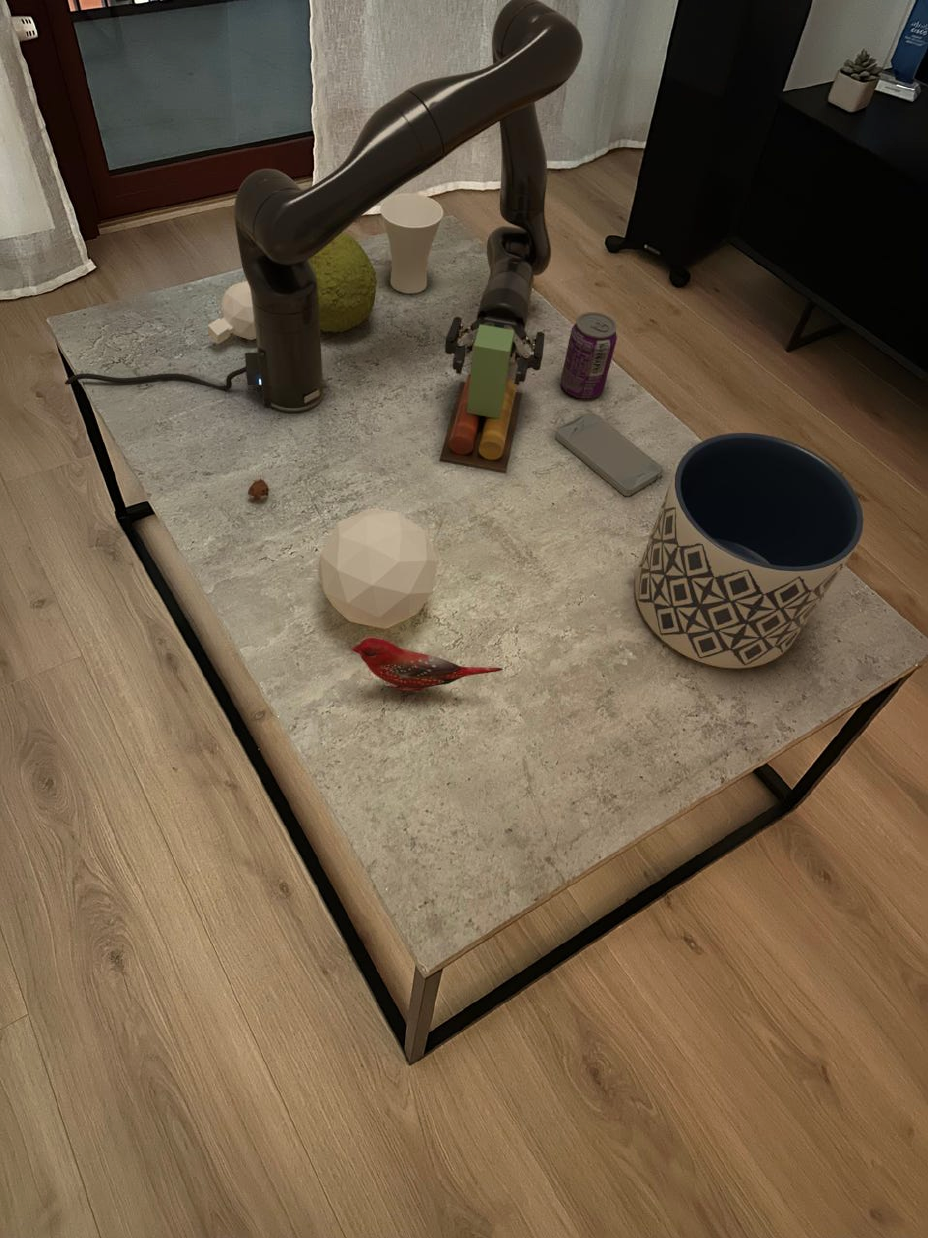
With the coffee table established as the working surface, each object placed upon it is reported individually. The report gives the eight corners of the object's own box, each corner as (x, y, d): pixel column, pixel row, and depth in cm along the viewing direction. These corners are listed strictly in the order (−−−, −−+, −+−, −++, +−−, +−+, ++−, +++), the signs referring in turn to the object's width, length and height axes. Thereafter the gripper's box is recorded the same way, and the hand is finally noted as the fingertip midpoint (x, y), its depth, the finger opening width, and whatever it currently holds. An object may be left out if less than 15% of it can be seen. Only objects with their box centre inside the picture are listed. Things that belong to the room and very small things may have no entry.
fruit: (262, 319, 149) (268, 220, 143) (332, 321, 159) (340, 229, 153) (320, 338, 139) (328, 233, 133) (391, 340, 149) (402, 242, 143)
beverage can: (609, 382, 147) (625, 319, 137) (594, 407, 143) (610, 344, 133) (569, 368, 148) (582, 304, 139) (553, 392, 144) (566, 328, 135)
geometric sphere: (378, 602, 123) (412, 499, 118) (436, 653, 112) (476, 542, 108) (284, 593, 113) (318, 481, 109) (338, 647, 103) (378, 525, 98)
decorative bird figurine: (352, 676, 109) (351, 628, 101) (497, 686, 110) (507, 640, 102) (350, 696, 108) (348, 649, 99) (497, 707, 108) (507, 661, 100)
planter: (763, 702, 112) (830, 603, 96) (604, 617, 118) (642, 511, 102) (820, 588, 124) (888, 483, 108) (673, 516, 130) (717, 407, 114)
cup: (372, 294, 156) (373, 220, 145) (386, 261, 162) (387, 188, 151) (432, 305, 155) (437, 231, 145) (443, 271, 162) (448, 199, 151)
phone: (590, 416, 142) (591, 410, 140) (664, 475, 135) (666, 469, 134) (552, 436, 138) (554, 430, 137) (627, 498, 131) (629, 492, 130)
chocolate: (254, 507, 124) (251, 487, 121) (246, 497, 125) (243, 477, 122) (273, 499, 125) (271, 479, 122) (266, 489, 126) (263, 469, 123)
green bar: (499, 418, 133) (509, 351, 123) (466, 412, 133) (473, 345, 124) (504, 397, 136) (514, 330, 126) (471, 391, 136) (479, 323, 127)
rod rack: (506, 473, 132) (509, 451, 129) (439, 460, 133) (441, 439, 129) (522, 395, 143) (525, 374, 140) (460, 384, 143) (462, 362, 140)
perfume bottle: (252, 295, 150) (195, 332, 145) (253, 258, 141) (192, 295, 137) (288, 331, 149) (232, 369, 144) (291, 296, 140) (231, 335, 136)
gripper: (460, 278, 135) (440, 343, 125) (554, 295, 134) (541, 361, 124) (456, 321, 141) (437, 386, 131) (546, 337, 140) (533, 404, 130)
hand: (488, 374), depth 128 cm, fingers open, 8 cm apart
